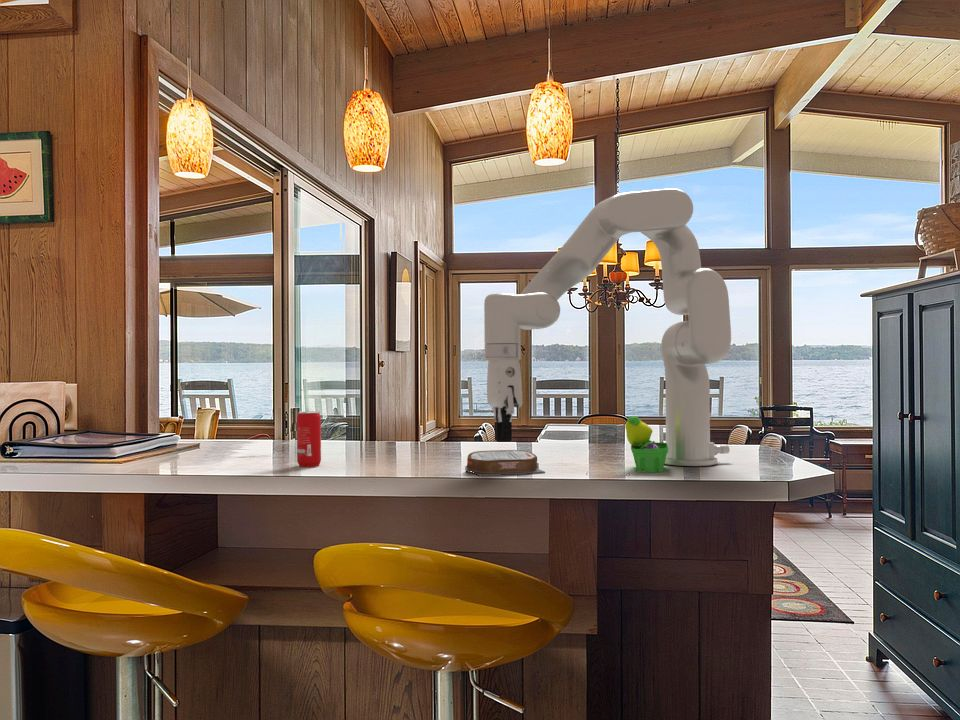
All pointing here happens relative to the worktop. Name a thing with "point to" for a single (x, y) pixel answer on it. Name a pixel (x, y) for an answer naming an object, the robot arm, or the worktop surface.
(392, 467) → the worktop surface
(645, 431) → the fruit basket
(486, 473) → the mat
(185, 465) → the worktop surface
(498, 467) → the tin
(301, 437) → the beverage can
